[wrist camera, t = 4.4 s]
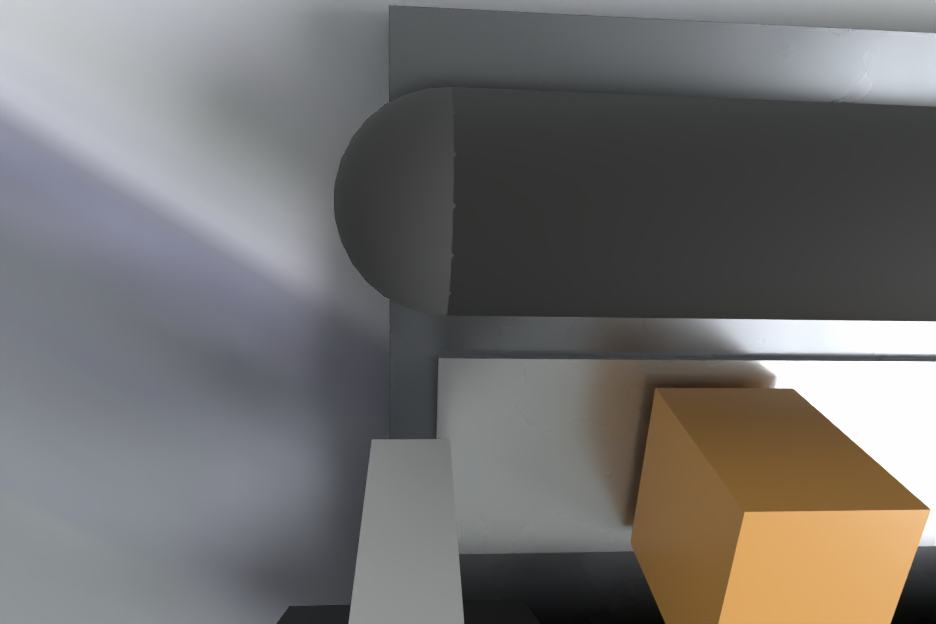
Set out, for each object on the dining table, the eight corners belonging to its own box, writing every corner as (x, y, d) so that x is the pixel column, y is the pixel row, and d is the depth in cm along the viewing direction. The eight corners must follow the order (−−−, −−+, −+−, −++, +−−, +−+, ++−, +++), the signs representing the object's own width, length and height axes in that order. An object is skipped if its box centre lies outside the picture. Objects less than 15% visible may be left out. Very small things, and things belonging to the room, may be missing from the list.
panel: (393, 678, 19) (390, 751, 17) (393, 13, 13) (388, 4, 11) (1188, 652, 22) (1268, 714, 20) (1528, 69, 15) (1701, 71, 13)
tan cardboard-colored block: (630, 543, 15) (699, 702, 11) (655, 388, 14) (744, 512, 10) (755, 540, 15) (864, 696, 12) (793, 388, 14) (931, 509, 10)
